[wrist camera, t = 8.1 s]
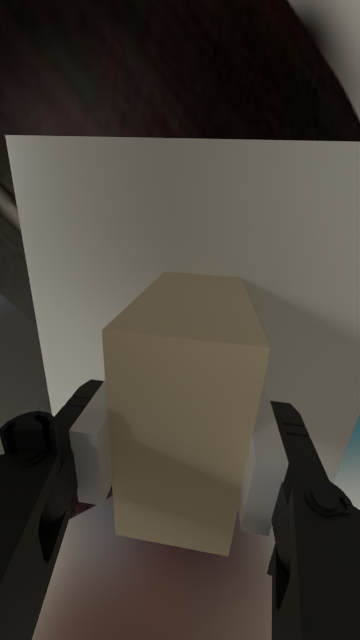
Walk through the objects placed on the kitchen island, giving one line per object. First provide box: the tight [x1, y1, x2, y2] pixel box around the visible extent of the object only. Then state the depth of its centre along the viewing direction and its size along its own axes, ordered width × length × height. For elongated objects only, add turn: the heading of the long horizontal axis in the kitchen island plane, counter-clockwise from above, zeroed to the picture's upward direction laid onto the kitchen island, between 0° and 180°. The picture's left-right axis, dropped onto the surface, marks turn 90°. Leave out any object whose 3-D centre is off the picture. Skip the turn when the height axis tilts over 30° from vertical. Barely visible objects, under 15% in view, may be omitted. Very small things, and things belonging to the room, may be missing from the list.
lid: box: [5, 135, 360, 556], centre depth 12 cm, size 20×20×9 cm
